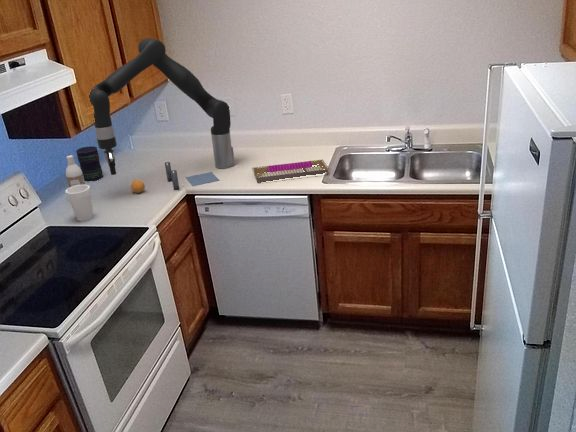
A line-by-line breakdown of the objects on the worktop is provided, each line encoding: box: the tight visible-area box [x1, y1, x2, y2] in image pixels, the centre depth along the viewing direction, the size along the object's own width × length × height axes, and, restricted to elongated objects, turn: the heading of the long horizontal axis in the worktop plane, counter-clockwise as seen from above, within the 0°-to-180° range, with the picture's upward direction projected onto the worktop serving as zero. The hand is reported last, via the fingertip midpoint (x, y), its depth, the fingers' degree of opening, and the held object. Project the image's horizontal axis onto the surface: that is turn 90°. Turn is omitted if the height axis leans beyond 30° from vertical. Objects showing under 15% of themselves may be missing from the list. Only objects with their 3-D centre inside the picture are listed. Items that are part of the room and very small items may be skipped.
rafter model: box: [251, 159, 331, 184], centre depth 247 cm, size 35×14×6 cm, turn 100°
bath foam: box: [65, 154, 86, 188], centre depth 234 cm, size 7×7×20 cm
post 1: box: [164, 161, 172, 182], centre depth 249 cm, size 3×3×9 cm
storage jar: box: [75, 145, 104, 182], centre depth 257 cm, size 10×10×15 cm
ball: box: [130, 179, 145, 194], centre depth 239 cm, size 6×6×6 cm
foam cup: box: [64, 184, 94, 222], centre depth 215 cm, size 10×9×13 cm
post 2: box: [171, 169, 180, 191], centre depth 238 cm, size 3×3×9 cm
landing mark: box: [185, 171, 220, 187], centre depth 250 cm, size 13×13×1 cm
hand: (113, 174), depth 232 cm, fingers closed
